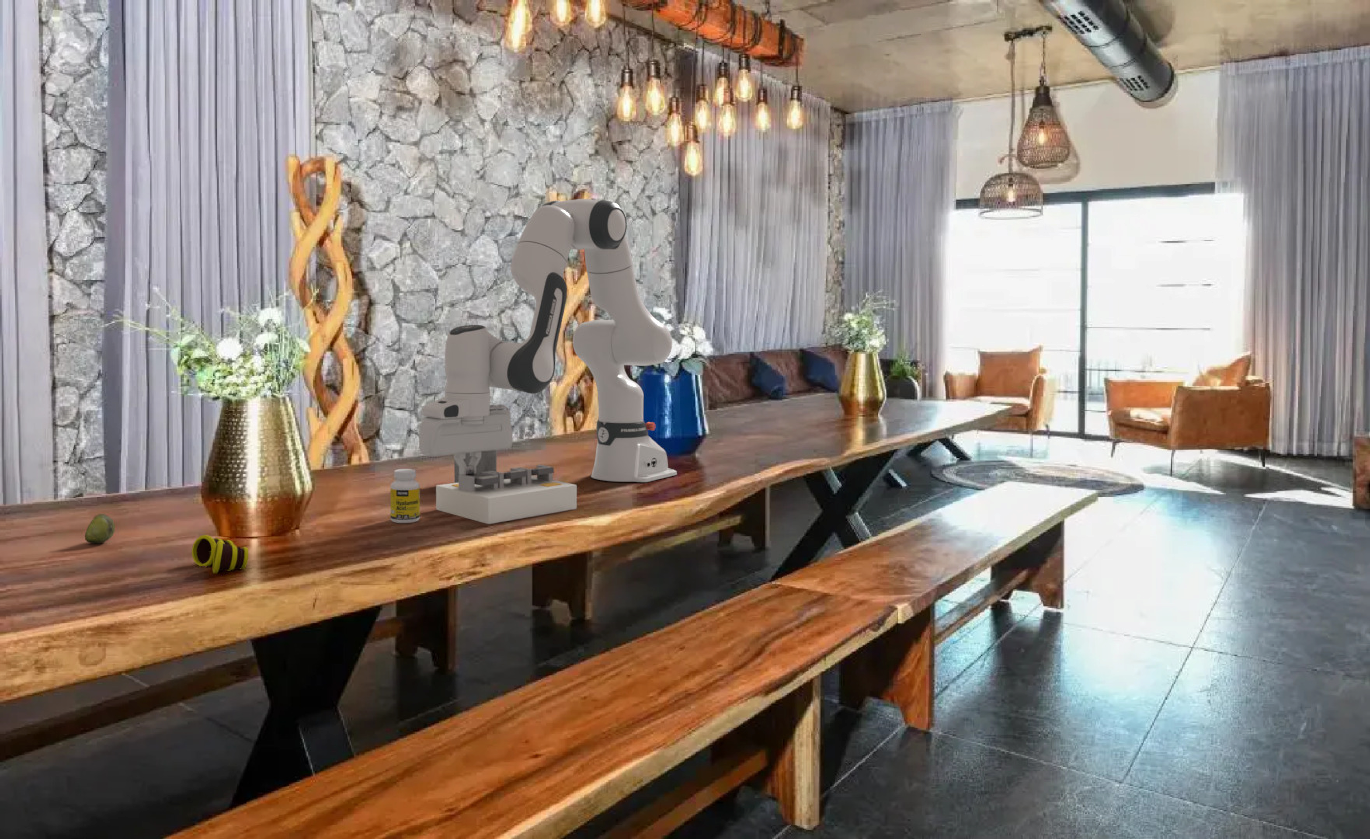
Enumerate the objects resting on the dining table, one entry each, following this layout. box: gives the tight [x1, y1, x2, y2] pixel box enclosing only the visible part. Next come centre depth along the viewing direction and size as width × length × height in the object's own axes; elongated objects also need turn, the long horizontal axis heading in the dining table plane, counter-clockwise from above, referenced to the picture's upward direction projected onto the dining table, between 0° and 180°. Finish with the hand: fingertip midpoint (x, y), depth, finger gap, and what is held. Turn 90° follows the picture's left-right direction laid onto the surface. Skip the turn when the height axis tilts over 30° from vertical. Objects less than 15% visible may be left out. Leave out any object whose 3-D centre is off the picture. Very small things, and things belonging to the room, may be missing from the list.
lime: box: [84, 513, 116, 545], centre depth 161 cm, size 4×5×5 cm
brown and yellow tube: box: [191, 534, 249, 574], centre depth 148 cm, size 10×5×5 cm, turn 48°
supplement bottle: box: [390, 468, 421, 524], centre depth 183 cm, size 5×5×10 cm
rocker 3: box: [530, 466, 555, 476], centre depth 200 cm, size 4×8×1 cm, turn 47°
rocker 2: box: [503, 470, 527, 479], centre depth 195 cm, size 4×8×1 cm, turn 47°
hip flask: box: [453, 450, 498, 483], centre depth 218 cm, size 16×4×20 cm, turn 42°
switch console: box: [435, 464, 578, 525], centre depth 195 cm, size 22×18×8 cm
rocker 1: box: [458, 474, 499, 485], centre depth 190 cm, size 4×8×1 cm, turn 47°
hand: (467, 474), depth 192 cm, fingers closed, pressing on rocker 1
